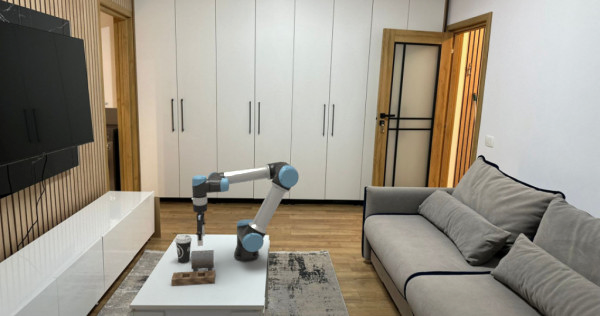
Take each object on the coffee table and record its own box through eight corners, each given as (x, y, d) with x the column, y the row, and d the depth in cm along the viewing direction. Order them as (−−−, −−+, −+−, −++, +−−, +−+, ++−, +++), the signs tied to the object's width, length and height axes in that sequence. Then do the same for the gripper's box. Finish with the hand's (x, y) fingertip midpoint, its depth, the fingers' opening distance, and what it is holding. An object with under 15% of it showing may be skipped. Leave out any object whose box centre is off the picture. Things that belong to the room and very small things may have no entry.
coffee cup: (187, 265, 233) (187, 240, 230) (172, 263, 235) (171, 239, 232) (195, 258, 242) (194, 234, 239) (180, 256, 244) (179, 233, 241)
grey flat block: (213, 269, 228) (213, 250, 226) (213, 273, 224) (213, 252, 222) (192, 270, 226) (191, 250, 224) (191, 274, 222) (191, 253, 220)
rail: (215, 276, 220) (215, 270, 220) (214, 283, 213) (214, 277, 212) (173, 278, 217) (173, 272, 216) (171, 285, 209) (171, 279, 208)
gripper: (195, 197, 229) (196, 232, 233) (190, 211, 205) (191, 250, 209) (208, 197, 230) (209, 232, 234) (205, 210, 206) (206, 249, 210)
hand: (201, 240), depth 222 cm, fingers open, 13 cm apart
